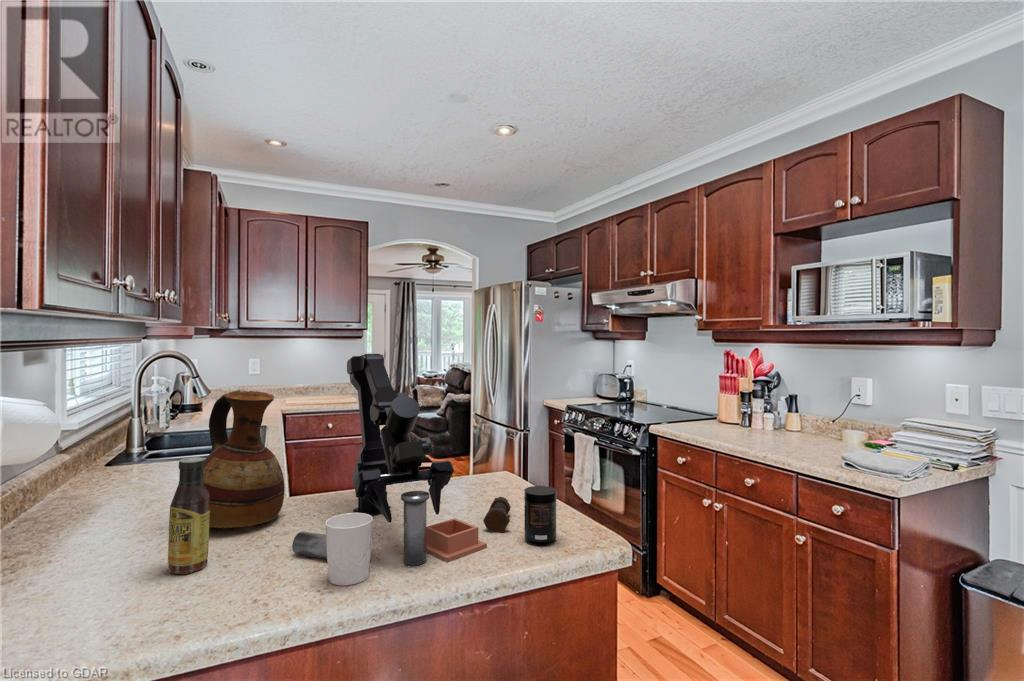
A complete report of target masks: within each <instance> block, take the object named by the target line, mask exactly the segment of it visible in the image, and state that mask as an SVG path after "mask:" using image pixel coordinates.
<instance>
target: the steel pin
mask: <svg viewBox="0 0 1024 681" xmlns="http://www.w3.org/2000/svg"><path fill="white" fill-rule="evenodd" d="M429 499H430V493H429V491H428V492H427V491H424V490H410V491H406V492H403V493H402V494H400V500H401V501H402V502H403V552H402V553H403V558H402V559H403V563H404V564H403V565H404V566H405V567H408V566H409V568H417V566H418V567H421V565H422V566H424V565H425V564H426V563H427V552H426V527H427V501H428V500H429ZM423 564H424V565H423Z"/></svg>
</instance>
